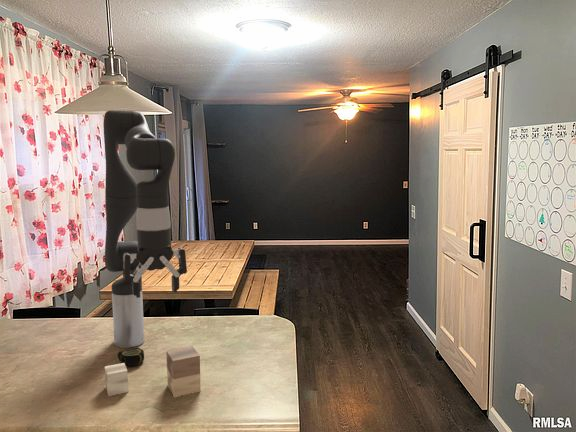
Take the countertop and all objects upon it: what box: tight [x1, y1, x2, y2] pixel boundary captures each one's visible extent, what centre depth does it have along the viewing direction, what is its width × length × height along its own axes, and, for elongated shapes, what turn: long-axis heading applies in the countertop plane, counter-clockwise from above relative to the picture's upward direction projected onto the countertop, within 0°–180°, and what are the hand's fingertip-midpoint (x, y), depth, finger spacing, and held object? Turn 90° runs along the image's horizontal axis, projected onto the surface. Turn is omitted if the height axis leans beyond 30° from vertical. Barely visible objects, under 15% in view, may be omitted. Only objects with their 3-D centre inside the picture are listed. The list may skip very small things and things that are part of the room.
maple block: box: [104, 362, 129, 397], centre depth 130 cm, size 5×5×6 cm
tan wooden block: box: [166, 368, 202, 398], centre depth 131 cm, size 7×7×5 cm
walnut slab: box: [165, 345, 201, 379], centre depth 131 cm, size 7×7×5 cm
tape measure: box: [117, 347, 145, 367], centre depth 146 cm, size 7×7×4 cm
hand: (156, 294), depth 117 cm, fingers open, 8 cm apart
